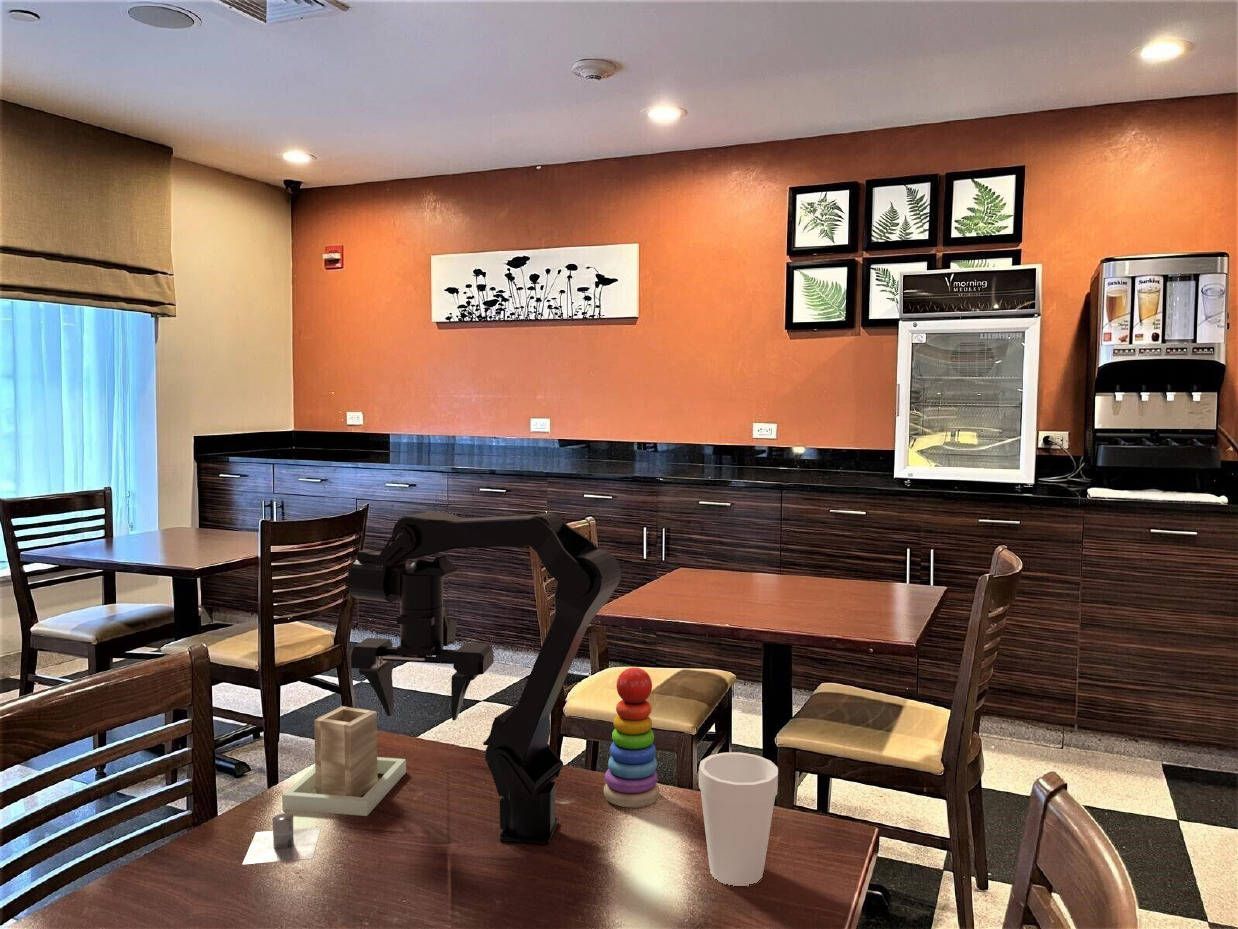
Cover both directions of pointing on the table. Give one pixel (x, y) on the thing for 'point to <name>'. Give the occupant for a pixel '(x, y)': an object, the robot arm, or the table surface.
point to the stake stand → (282, 842)
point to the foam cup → (737, 814)
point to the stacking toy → (632, 745)
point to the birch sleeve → (346, 752)
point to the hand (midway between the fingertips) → (422, 717)
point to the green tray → (306, 801)
